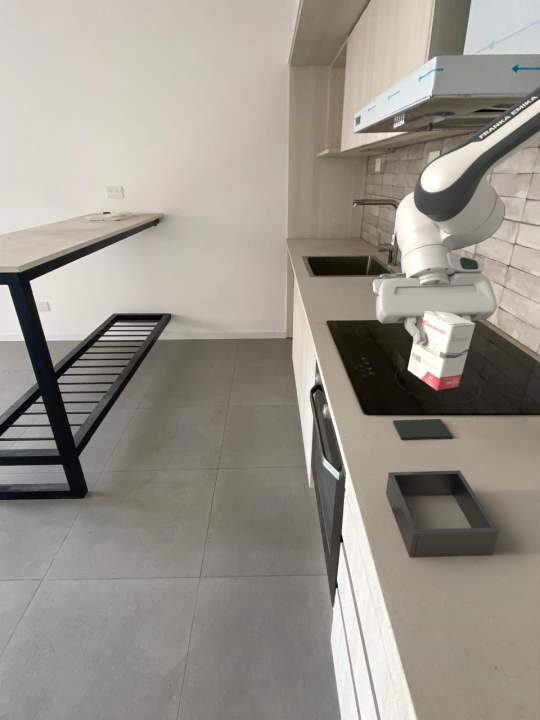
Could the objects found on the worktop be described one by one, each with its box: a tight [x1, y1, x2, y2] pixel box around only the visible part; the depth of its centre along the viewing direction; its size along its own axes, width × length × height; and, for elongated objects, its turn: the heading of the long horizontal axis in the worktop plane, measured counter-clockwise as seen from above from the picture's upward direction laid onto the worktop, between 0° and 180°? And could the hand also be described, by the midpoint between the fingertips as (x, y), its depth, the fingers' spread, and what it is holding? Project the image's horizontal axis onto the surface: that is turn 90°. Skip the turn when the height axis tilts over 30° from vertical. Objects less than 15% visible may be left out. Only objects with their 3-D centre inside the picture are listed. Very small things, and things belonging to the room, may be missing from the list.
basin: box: [385, 469, 500, 558], centre depth 58 cm, size 11×12×4 cm
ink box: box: [407, 311, 476, 391], centre depth 68 cm, size 9×5×12 cm, turn 17°
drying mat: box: [392, 418, 454, 441], centre depth 80 cm, size 10×6×1 cm, turn 90°
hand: (441, 343), depth 67 cm, fingers closed on ink box, 6 cm apart
